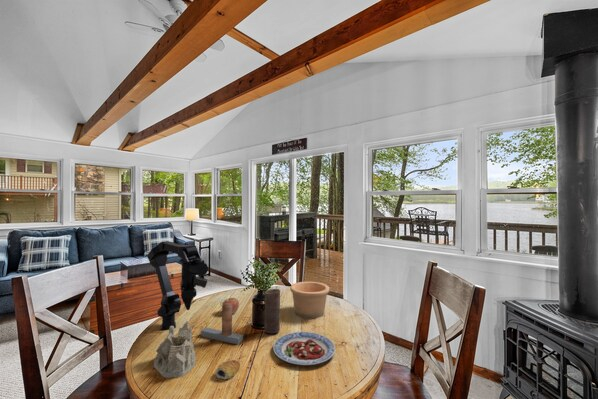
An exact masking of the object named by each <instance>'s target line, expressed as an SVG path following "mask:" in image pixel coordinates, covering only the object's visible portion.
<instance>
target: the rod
mask: <svg viewBox="0 0 598 399" xmlns="http://www.w3.org/2000/svg"><path fill="white" fill-rule="evenodd" d="M221 307H222V308H221V331H222V336H230V335H231V334H232V333H233V314H232V304H231V303H225V304H223V303H222V306H221Z"/></svg>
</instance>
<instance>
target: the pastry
mask: <svg viewBox="0 0 598 399" xmlns="http://www.w3.org/2000/svg"><path fill="white" fill-rule="evenodd" d="M240 366H241V363H240V362H239V361H238V360H237V359H232V360H228V361H224V362H222V363H221V364H219V365H218V367H217V368H216V370H215V372H214V374H215V376H216V378H218V379H223V380H226V379H227V380H230V379H232V378H233V377H234V376H235V375H237V373H238V372H239V370H240V368H241V367H240Z"/></svg>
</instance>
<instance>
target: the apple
mask: <svg viewBox="0 0 598 399" xmlns="http://www.w3.org/2000/svg"><path fill="white" fill-rule="evenodd" d="M225 303H231V304H232V315H233V314H235V313H237V312H238V310H239V307H240V302H239V299H237V298H236V297H228V298H226V299H224V301H223V302H222V305H223V304H225Z"/></svg>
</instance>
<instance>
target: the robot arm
mask: <svg viewBox="0 0 598 399" xmlns="http://www.w3.org/2000/svg"><path fill="white" fill-rule="evenodd" d="M170 253H173V254H176V255H177V257H179V258H180V260H179V261H178V263H181V273H180V276H181V278H180V279H181V281H180V282H179V285H180V286H179V287H180V294H179V293H175V292H174V290H173V286H172V282H171V278H170V275H169V271H168V268H167V261H168V255H170ZM147 260H148V261H149V262H148V263H149V264H150V265H151V266H152V267H153V268H154V269H155V272H156V277H157V280H158V284H159V288H160V290H161V295H162V298H161V301H160V307H159V308H158V310H157V311H156V314H157V316H158V317H161V321H162V322H161V324H160V331H163V330H169V328H170V326H174V329H176V326H177V322H176V314H177V313H180V310H181V307H182V302H183V304H184V307H185V309H186V311H189V310H190V308H191V306H192V302H193V299H194V298H195V297H196V296H197V289H196V286H197V287H202V288H203V289H204V288H206V286H207V285H208V279H207V278H205V275H207V272H208V271H209V266H208V264H207V263H205V259H203V258H202V255H201V253H200V252H199V249H198V247H197V246H196V245H195V244H188V245H187V244H185V245H183V244H180V243H176V242H171V241H169V240H166V241H159V243H158V244H157V245H156V246H154V247H153V248H152V249H150V250H149V252H148V253H147ZM181 299H182V300H181Z"/></svg>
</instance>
